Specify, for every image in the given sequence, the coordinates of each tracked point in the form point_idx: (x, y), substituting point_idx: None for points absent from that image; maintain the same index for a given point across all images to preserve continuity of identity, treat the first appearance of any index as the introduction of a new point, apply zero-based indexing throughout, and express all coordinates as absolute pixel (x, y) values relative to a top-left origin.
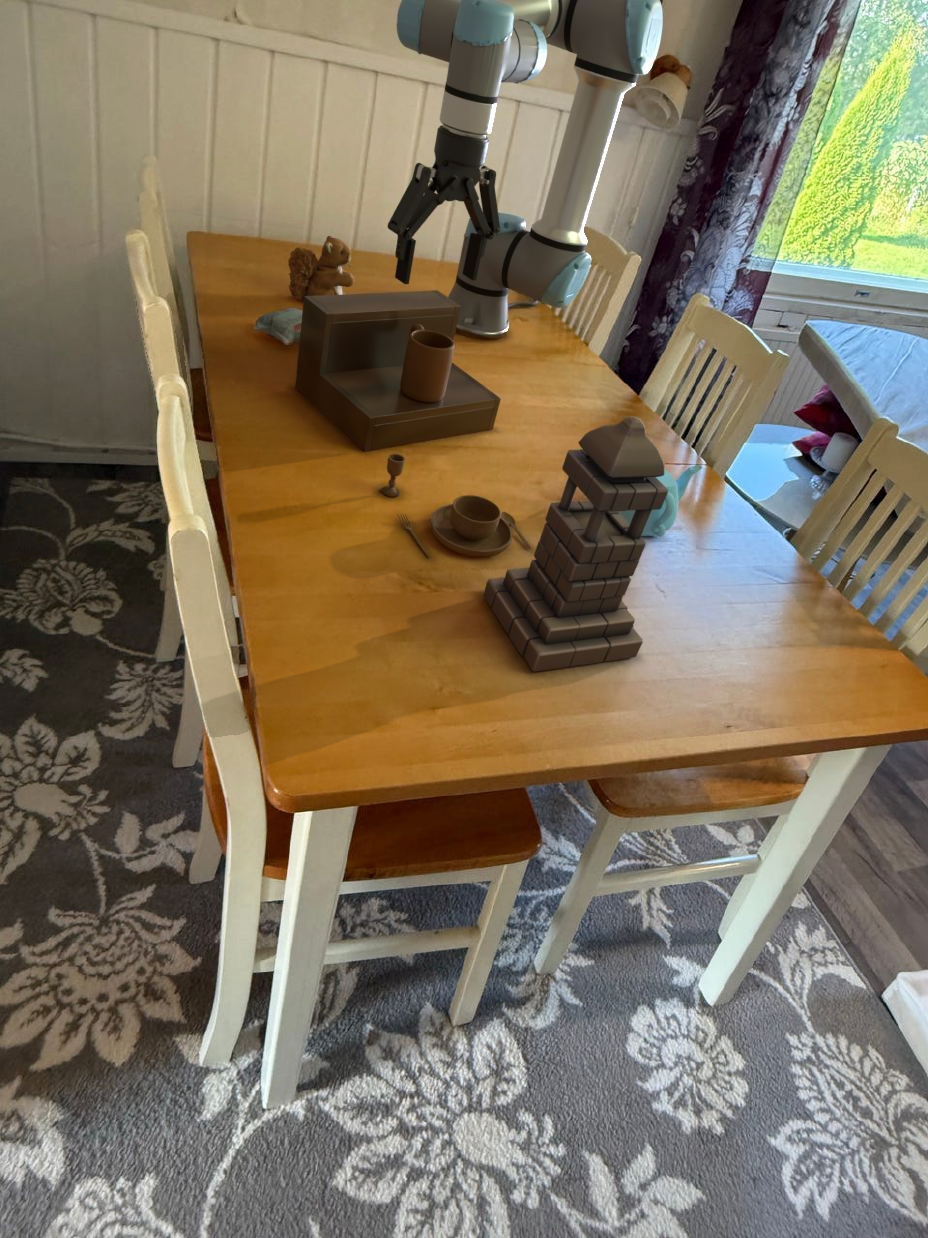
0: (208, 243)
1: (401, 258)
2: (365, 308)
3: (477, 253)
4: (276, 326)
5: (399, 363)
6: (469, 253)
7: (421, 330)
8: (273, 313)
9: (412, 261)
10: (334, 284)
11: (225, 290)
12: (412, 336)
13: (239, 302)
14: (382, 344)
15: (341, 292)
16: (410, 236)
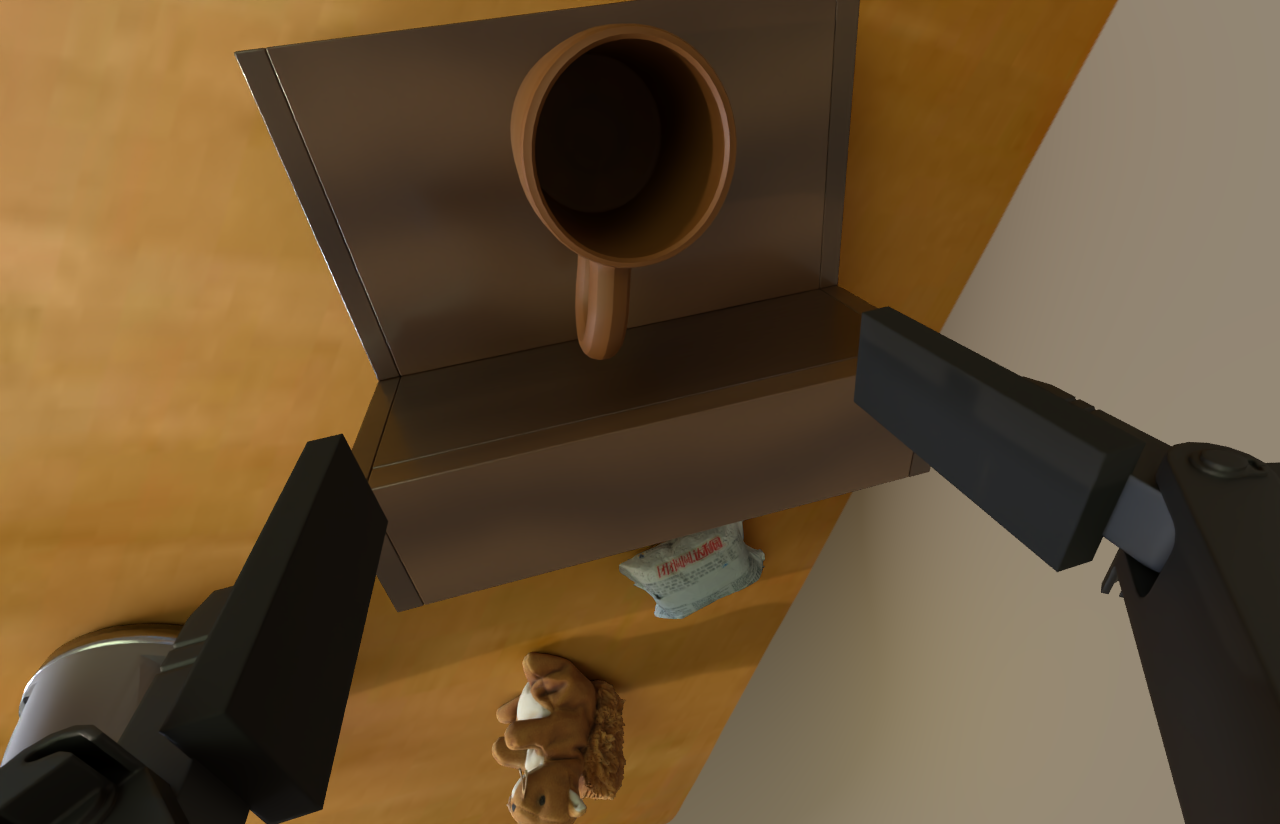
0: (669, 803)
1: (1033, 382)
2: (791, 412)
3: (288, 580)
4: (745, 548)
5: None
6: (345, 618)
7: (639, 259)
8: (741, 583)
9: (960, 368)
10: (552, 717)
11: (718, 682)
12: (687, 230)
13: (716, 651)
14: (672, 353)
15: (525, 709)
16: (1212, 454)
